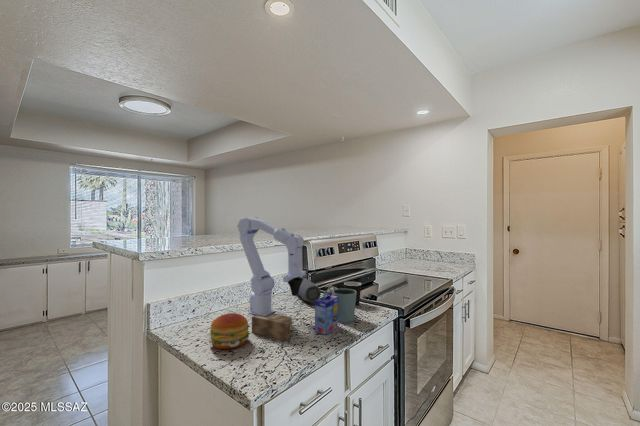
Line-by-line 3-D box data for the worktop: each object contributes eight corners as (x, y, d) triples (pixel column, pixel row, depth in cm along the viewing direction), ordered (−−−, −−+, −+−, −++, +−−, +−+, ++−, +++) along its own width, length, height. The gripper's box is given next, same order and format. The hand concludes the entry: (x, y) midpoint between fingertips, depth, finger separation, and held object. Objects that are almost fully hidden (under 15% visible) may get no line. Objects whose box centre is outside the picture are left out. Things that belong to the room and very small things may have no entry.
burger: (210, 356, 94) (209, 324, 94) (207, 339, 106) (207, 311, 106) (252, 347, 99) (252, 318, 99) (245, 332, 112) (245, 306, 111)
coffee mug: (364, 303, 147) (364, 282, 147) (356, 307, 139) (356, 286, 139) (343, 299, 153) (343, 280, 153) (335, 303, 146) (335, 283, 145)
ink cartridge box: (326, 335, 108) (326, 296, 108) (314, 332, 111) (313, 294, 111) (339, 326, 117) (338, 290, 117) (326, 323, 120) (326, 288, 120)
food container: (337, 316, 128) (337, 293, 128) (323, 315, 130) (323, 292, 130) (340, 307, 140) (340, 286, 140) (328, 306, 142) (328, 285, 142)
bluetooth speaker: (290, 294, 163) (290, 276, 163) (306, 292, 167) (305, 274, 167) (304, 306, 142) (303, 285, 142) (321, 303, 146) (321, 283, 146)
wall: (251, 332, 111) (251, 316, 111) (255, 330, 113) (255, 315, 113) (287, 340, 104) (287, 323, 104) (290, 338, 106) (290, 322, 106)
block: (263, 332, 111) (263, 319, 111) (274, 326, 118) (274, 314, 118) (281, 336, 108) (281, 323, 108) (291, 329, 114) (291, 317, 114)
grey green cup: (327, 319, 124) (327, 291, 124) (342, 313, 132) (342, 286, 132) (346, 325, 118) (346, 295, 117) (361, 319, 125) (361, 290, 125)
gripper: (293, 267, 118) (293, 301, 118) (311, 261, 130) (311, 292, 130) (278, 265, 121) (279, 298, 121) (298, 260, 134) (298, 290, 134)
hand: (295, 295), depth 126 cm, fingers closed
